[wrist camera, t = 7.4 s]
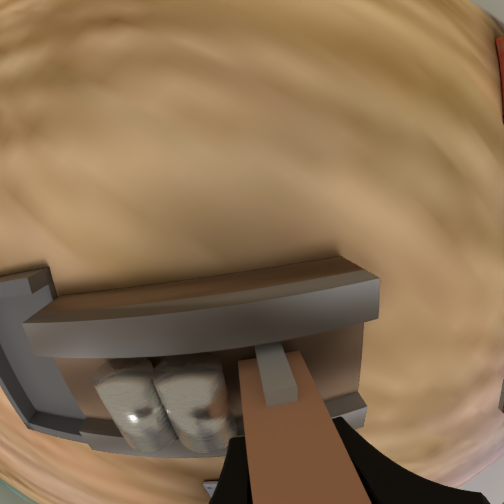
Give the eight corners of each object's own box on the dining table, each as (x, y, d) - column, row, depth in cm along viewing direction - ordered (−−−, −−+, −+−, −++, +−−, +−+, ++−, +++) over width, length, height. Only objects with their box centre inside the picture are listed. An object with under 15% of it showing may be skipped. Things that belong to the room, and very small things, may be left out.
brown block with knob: (301, 403, 13) (353, 539, 4) (248, 412, 13) (270, 558, 4) (298, 336, 12) (381, 501, 3) (235, 347, 12) (254, 533, 3)
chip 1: (184, 416, 13) (169, 456, 10) (137, 411, 13) (117, 446, 10) (161, 356, 12) (136, 397, 9) (111, 353, 12) (81, 387, 9)
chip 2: (246, 441, 11) (186, 459, 10) (225, 405, 14) (173, 420, 13) (231, 378, 10) (155, 399, 9) (210, 344, 13) (149, 360, 12)
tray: (116, 426, 17) (108, 446, 14) (37, 413, 16) (27, 428, 14) (49, 267, 14) (27, 277, 11) (-22, 280, 13) (-40, 289, 11)
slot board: (340, 386, 17) (363, 426, 13) (109, 410, 16) (92, 449, 12) (341, 256, 15) (379, 278, 11) (60, 295, 14) (21, 323, 10)
